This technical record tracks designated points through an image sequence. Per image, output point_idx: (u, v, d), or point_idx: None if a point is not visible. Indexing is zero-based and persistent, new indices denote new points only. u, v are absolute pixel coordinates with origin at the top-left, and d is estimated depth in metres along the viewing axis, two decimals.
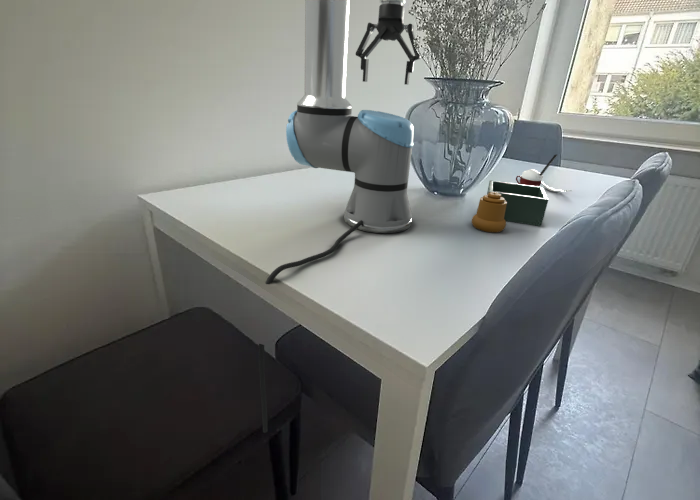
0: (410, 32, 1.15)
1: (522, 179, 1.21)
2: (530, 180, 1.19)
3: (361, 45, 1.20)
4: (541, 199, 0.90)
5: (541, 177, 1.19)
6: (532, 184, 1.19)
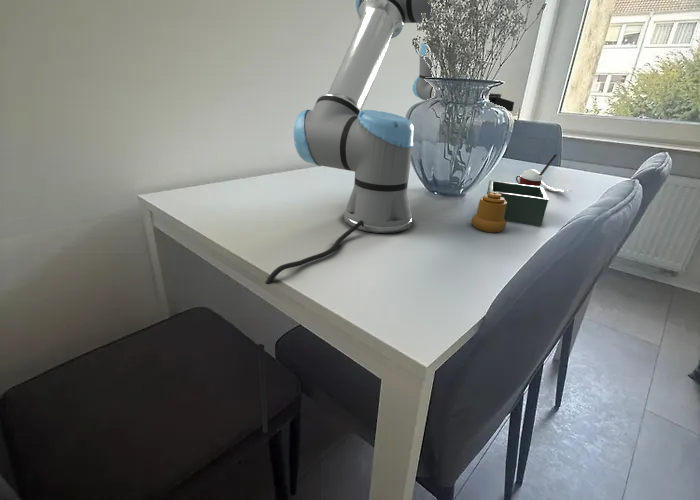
0: None
1: (522, 179, 1.21)
2: (530, 180, 1.19)
3: None
4: (541, 199, 0.90)
5: (541, 177, 1.19)
6: (532, 184, 1.19)
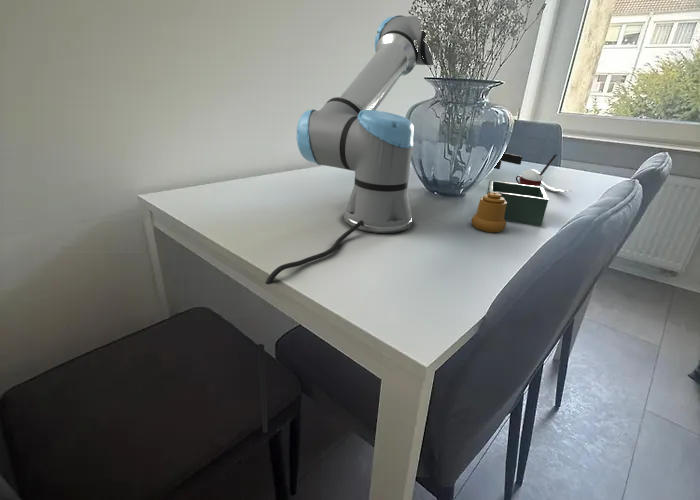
0: None
1: (522, 179, 1.21)
2: (530, 180, 1.19)
3: None
4: (541, 199, 0.90)
5: (541, 177, 1.19)
6: (532, 184, 1.19)
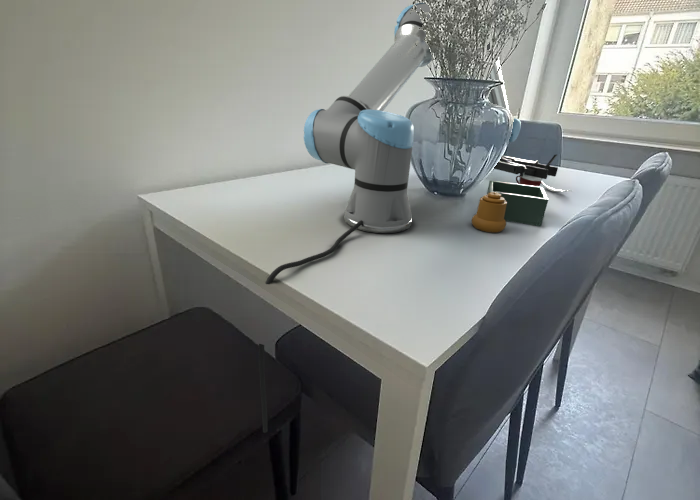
0: (515, 158, 1.29)
1: (522, 179, 1.21)
2: (530, 180, 1.19)
3: (510, 164, 1.19)
4: (541, 199, 0.90)
5: None
6: (532, 184, 1.19)
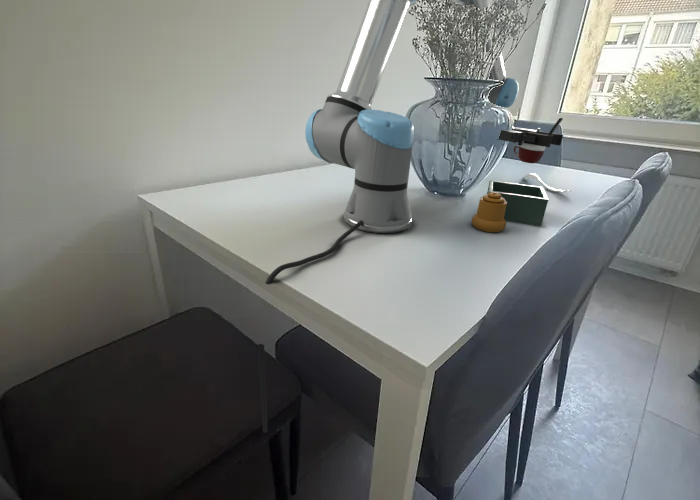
0: (513, 127, 1.11)
1: (521, 149, 1.03)
2: (531, 150, 1.01)
3: (507, 130, 1.01)
4: (541, 199, 0.90)
5: (543, 146, 1.01)
6: (533, 154, 1.01)
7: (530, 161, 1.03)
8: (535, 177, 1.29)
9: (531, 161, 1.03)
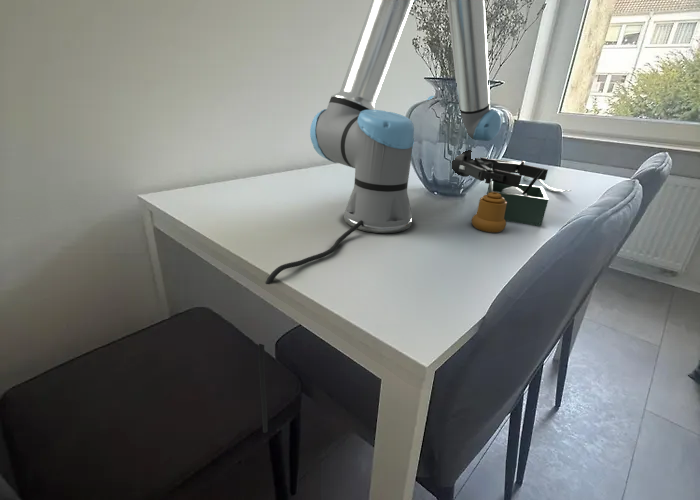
0: (495, 159, 1.06)
1: None
2: None
3: (477, 167, 0.94)
4: (541, 199, 0.90)
5: None
6: None
7: None
8: None
9: None
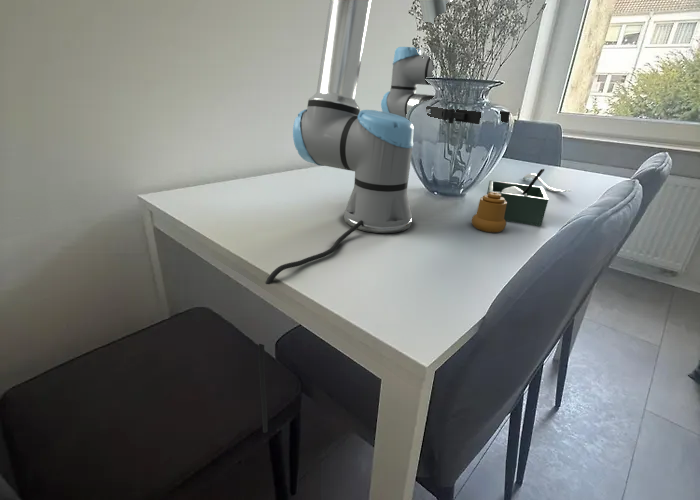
0: None
1: None
2: None
3: (441, 108, 0.97)
4: (541, 199, 0.90)
5: None
6: None
7: None
8: None
9: None
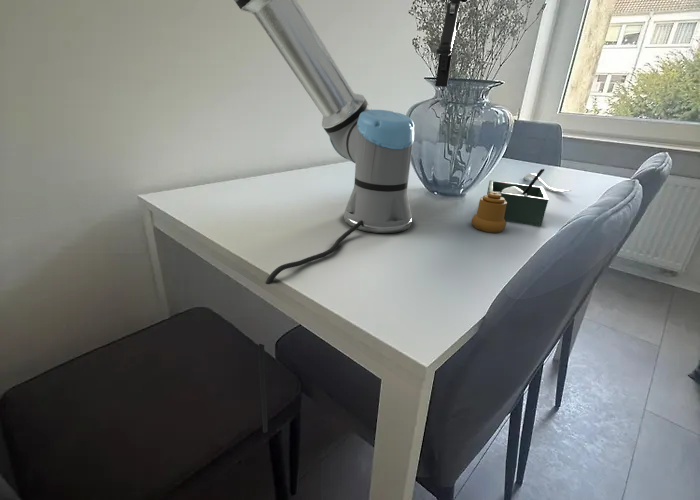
0: None
1: None
2: None
3: None
4: (541, 199, 0.90)
5: None
6: None
7: None
8: None
9: None
